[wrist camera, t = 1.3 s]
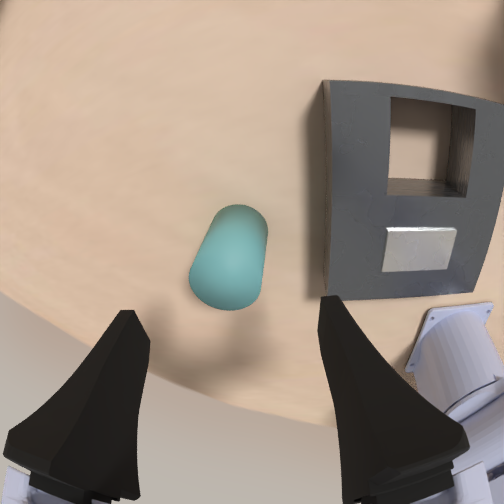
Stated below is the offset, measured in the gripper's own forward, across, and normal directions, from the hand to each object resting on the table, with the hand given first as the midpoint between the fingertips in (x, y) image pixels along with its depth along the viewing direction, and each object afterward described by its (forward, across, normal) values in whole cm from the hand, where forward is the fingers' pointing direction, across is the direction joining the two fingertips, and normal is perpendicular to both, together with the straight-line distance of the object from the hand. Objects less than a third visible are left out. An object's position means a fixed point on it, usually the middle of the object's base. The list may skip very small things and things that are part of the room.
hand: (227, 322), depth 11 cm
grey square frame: (+9, -12, 0) cm, 15 cm away
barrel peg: (+11, 0, +3) cm, 11 cm away
